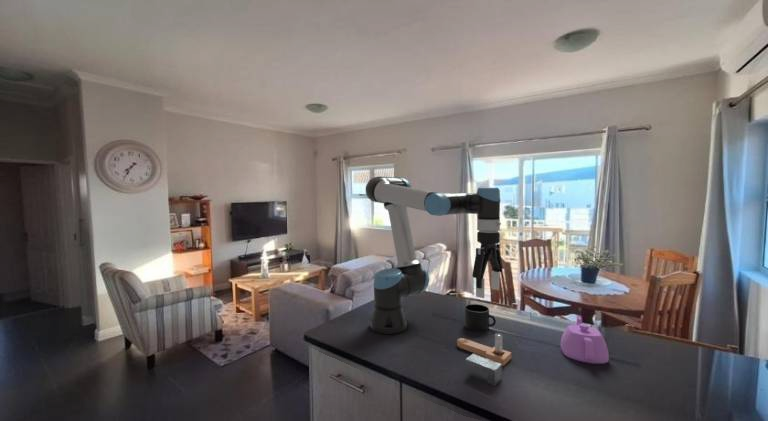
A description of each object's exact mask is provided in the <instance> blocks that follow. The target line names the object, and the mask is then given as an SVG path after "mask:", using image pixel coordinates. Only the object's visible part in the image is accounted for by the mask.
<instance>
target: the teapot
mask: <svg viewBox="0 0 768 421" xmlns="http://www.w3.org/2000/svg"><path fill="white" fill-rule="evenodd" d="M560 350H561V352H562V353H563V355H564V356H566V357H567V358H569V359H572V360H575V361H579V362H582V363H588V364H595V365H596V364H607V363H608V361H609V359H610V356H609V355H610V354H609V349H608V346H607V343H606V341H605V339H604V337H603V335H602V333H601V331H599V329H597V328H595V327H593V326H590V325H588V324H585V323H583V319H582V317H581V315H576V324H568V325H567V327H566V328H565V330H564V332H563V333H562V335H561V340H560Z"/></svg>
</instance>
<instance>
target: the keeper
mask: <svg viewBox="0 0 768 421" xmlns="http://www.w3.org/2000/svg"><path fill="white" fill-rule="evenodd" d="M465 364H467V365H469V366H472V367H475V368H477V369H479V370H482V371H485V372H486V373H487V383H488V384H489V385H492V386H494V387H496V386H497V385H498V383H500V382H501V381H502V376H503V374H502V373H503V370H502V367H503V365H502V364H500V363H497V362H494V361H492V360H489V359H486V358H485V357H484V356H481V355H478V354H475V353H472V354H470V355H469V356H468V357H466V358H465Z"/></svg>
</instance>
